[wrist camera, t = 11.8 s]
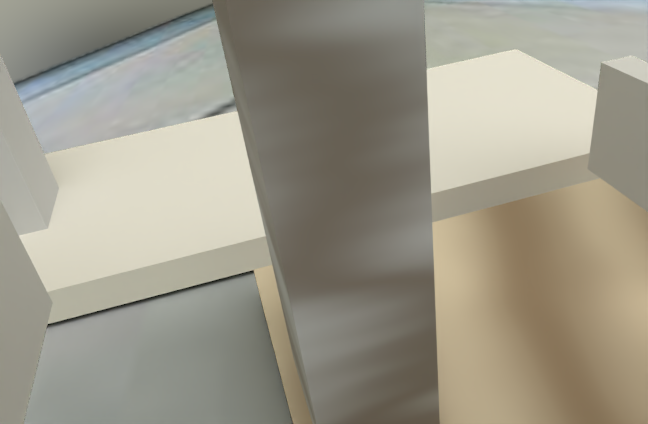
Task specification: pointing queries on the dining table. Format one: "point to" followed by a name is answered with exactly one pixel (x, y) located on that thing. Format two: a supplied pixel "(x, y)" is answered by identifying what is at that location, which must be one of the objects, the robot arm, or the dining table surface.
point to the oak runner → (530, 311)
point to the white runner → (238, 187)
